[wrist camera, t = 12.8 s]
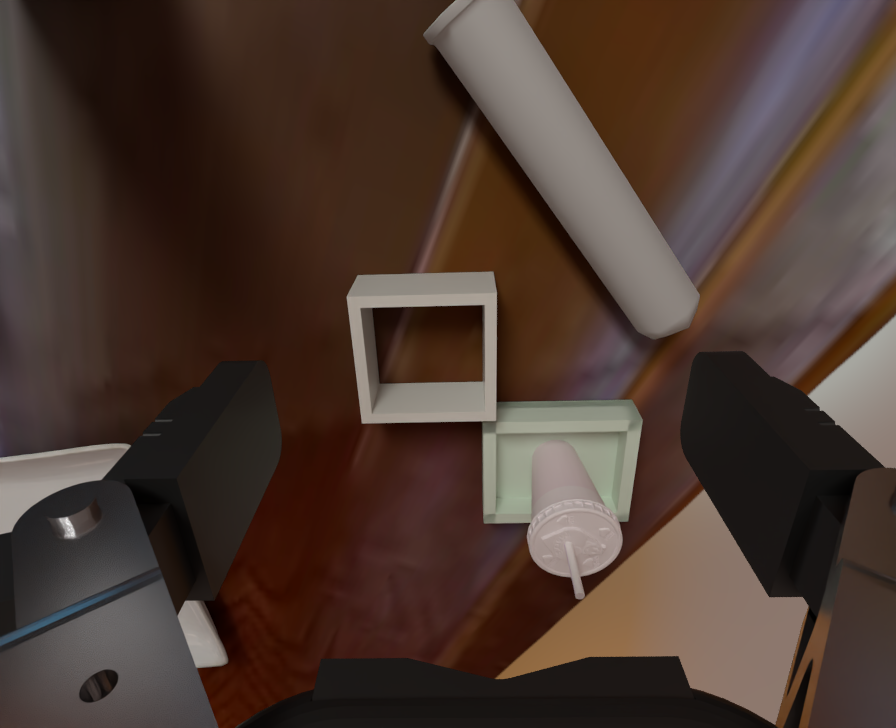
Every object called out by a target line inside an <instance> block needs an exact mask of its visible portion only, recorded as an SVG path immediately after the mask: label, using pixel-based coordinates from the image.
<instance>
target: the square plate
mask: <svg viewBox="0 0 896 728" xmlns="http://www.w3.org/2000/svg"><path fill="white" fill-rule="evenodd" d="M130 447H131V445H128V444H102V445H93V446H87V447H78V448H71V449H65V450H58V451H50V452H43V453H36V454H27V455H20V456H11V457H4V458H0V534H4V533H9V532H12V530H13V527H14V525H15V524H16V522H17V521H18V519H19V518H20V517H21V516H22V515H23V514H24V513H25V512H26V511H27V510H28V509H29V508H31V507H32V506H33V505H35V504H36V503H37V502H39V501H40V500H42V499H44V498H45V497H47V496H49V495H51V494H53V493H55V492H57V491H59V490H62V489H64V488H67V487H70V486H73V485H76V484H80V483H84V482H89V481H96V480H102V479H103V477H104V476H105V475H106V474H107V473H108V472H109V471H110V469H111V468H112V467H113V466H114V465H115V464H116V463H117V462H118V460H119V459H120V458H121V457H122V456H123V455H124V454H125V452H126V451H127V450H128V449H129V448H130ZM178 619H179V622H180V624H181V627H182V630H183V633H184V635H185V638H186V641H187V644H188V646H189V649H190V652H191V655H192V657H193V660H194V663H195V665H196V668H203V667H213V666H223V665H225V664H227V663H228V656H227V653H226V650H225V648H224V646H223V643H222V642H221V640H220V638H219V635H218V632H217V630H216V627H215V625H214V623H213V621H212V618H211V616H210V614H209V611H208V609H207V607H206V605H205V603H204V601H185V602H184V604H183V606H182V608H181V610H180V612H179V614H178Z"/></svg>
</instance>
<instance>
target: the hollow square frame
mask: <svg viewBox="0 0 896 728" xmlns="http://www.w3.org/2000/svg"><path fill="white" fill-rule="evenodd" d="M347 303H348V311H349V319H350V328H351V336H352V344H353V353H354V361H355V369H356V378H357V386H358V394H359V402H360V411H361V419H362V423H409V422H465V421H496V368H497V290H496V285H495V279H494V273H493V272H464V273H426V274H388V275H358V276H357V278H356V280H355V282H354V284H353V286H352V288H351V290H350V291H349V293H348V295H347ZM460 305H482V330H483V382H446V383H397V384H380V382H379V372H378V362H377V352H376V342H375V332H374V322H373V312H372V308H378V307H419V306H460Z"/></svg>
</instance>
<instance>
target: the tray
mask: <svg viewBox="0 0 896 728" xmlns="http://www.w3.org/2000/svg"><path fill="white" fill-rule="evenodd" d="M642 421H643V420H642V418H641V416H640V414H639V412H638V410H637V408H636V406H635V405H634V403H633V401H632V400H583V401H531V402H496V421H482V502H483V520H484V523H531V506H532V455H533V453H534V451H535V449H536V448H537V447H538V446H539V445H541V444H542V443H544V442H547V441H550V440H562V441H565V442H567V443H569V444H571V445H572V446H573V447H574V449H575V450H576V452H577V454H578V456H579V458H580V460H581V462H582V463H583V465H584V467H585V469H586V471H587V473H588V475H589V476H590V478H591V480H592V482H593V484H594V486H595V488H596V489H597V491H598V493H599V495H600V497H601V499H602V500H603V502H604V504H605V506H606V507H607V508H609V509H610V510H611V511H612V512H613V513H614V514H615V515H616V517H617V519H618V521H619V522H628V518H629V511H630V504H631V497H632V490H633V483H634V476H635V469H636V463H637V456H638V449H639V442H640V435H641V428H642Z"/></svg>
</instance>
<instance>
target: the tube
mask: <svg viewBox="0 0 896 728" xmlns="http://www.w3.org/2000/svg"><path fill="white" fill-rule="evenodd" d="M423 36H424V37H425V39H426V40H427V41H428V43H429V44H430V45H435V46H436V48H437V49H438V50H439V51H440V53H441V54H442V56H443V57H444V58H445V60H446V61H447V63H448V64H449V65H450V67H451V68H452V70H453V71H454V73H455V74H456V75H457V77H458V78H459V80H460V81H461V82H462V84H463V85H464V87H465V88H466V90H467V91H468V92H469V94H470V95H471V97H472V98H473V99H474V101H475V102H476V104H477V105H478V107H479V108H480V109H481V111H482V112H483V114H484V115H485V116H486V118H487V119H488V121H489V122H490V124H491V125H492V126H493V128H494V129H495V131H496V132H497V133H498V135H499V136H500V138H501V139H502V141H503V142H504V143H505V145H506V146H507V148H508V149H509V150H510V152H511V153H512V155H513V156H514V158H515V159H516V160H517V162H518V163H519V165H520V166H521V167H522V169H523V170H524V172H525V173H526V175H527V176H528V177H529V179H530V180H531V182H532V183H533V184H534V186H535V187H536V189H537V190H538V192H539V193H540V194H541V196H542V197H543V199H544V200H545V201H546V203H547V204H548V206H549V207H550V209H551V210H552V211H553V213H554V214H555V216H556V217H557V218H558V220H559V221H560V223H561V224H562V226H563V227H564V228H565V230H566V231H567V233H568V234H569V235H570V237H571V238H572V240H573V241H574V243H575V244H576V245H577V247H578V248H579V250H580V251H581V252H582V254H583V255H584V257H585V258H586V260H587V261H588V262H589V264H590V265H591V267H592V268H593V269H594V271H595V272H596V274H597V275H598V277H599V278H600V279H601V281H602V282H603V284H604V285H605V286H606V288H607V289H608V291H609V292H610V294H611V295H612V296H613V298H614V299H615V301H616V302H617V303H618V305H619V306H620V308H621V309H622V311H623V312H624V313H625V315H626V316H627V318H628V319H629V320H630V322H631V323H632V325H633V326H634V327H635V329H636V330H637V332H639V333H641V334H643V335H645V336H647V337H649V338H651V339H653V340H655V339H658V338H662V337H666V336H669V335H671V334H674V333H677V332H679V331H682V330H684V329H687V328H689V327H690V324H691V322H692V320H693V317H694V315H695V313H696V311H697V307H698V302H699V297H700V295H699V293H698V292H697V290H696V288H695V287H694V285H693V284H692V282H691V281H690V279H689V277H688V276H687V274H686V273H685V271H684V269H683V268H682V266H681V265H680V263H679V262H678V260H677V258H676V257H675V255H674V254H673V252H672V250H671V249H670V247H669V246H668V244H667V243H666V241H665V239H664V238H663V236H662V235H661V233H660V231H659V230H658V228H657V227H656V225H655V224H654V222H653V220H652V219H651V217H650V216H649V214H648V212H647V211H646V209H645V208H644V206H643V205H642V203H641V201H640V200H639V198H638V197H637V195H636V193H635V192H634V190H633V189H632V187H631V186H630V184H629V182H628V181H627V179H626V178H625V176H624V174H623V173H622V171H621V170H620V168H619V167H618V165H617V163H616V162H615V160H614V159H613V157H612V155H611V154H610V152H609V151H608V149H607V148H606V146H605V144H604V143H603V141H602V140H601V138H600V136H599V135H598V133H597V132H596V130H595V129H594V127H593V125H592V124H591V122H590V121H589V119H588V117H587V116H586V114H585V113H584V111H583V110H582V108H581V106H580V105H579V103H578V102H577V100H576V98H575V97H574V95H573V94H572V92H571V91H570V89H569V87H568V86H567V84H566V83H565V81H564V79H563V78H562V76H561V75H560V73H559V72H558V70H557V68H556V67H555V65H554V64H553V62H552V60H551V59H550V57H549V56H548V54H547V53H546V51H545V49H544V48H543V46H542V45H541V43H540V41H539V40H538V38H537V37H536V35H535V34H534V32H533V30H532V29H531V27H530V26H529V24H528V22H527V21H526V19H525V18H524V16H523V15H522V13H521V11H520V10H519V8H518V7H517V5H516V3H515V2H514V0H456V1H454V2H453V3H452V4H451V5H450V6H449V7H448V8H447V9H446V10H445V11H444V12H443V13H442V14H441V15H440V16H439V17H438V18H437V19H436V20H435V21H434V23H433V24H432V25H431V26H430V27H429V28H428V29H427V31H426V32H425V33H424V35H423Z"/></svg>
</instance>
